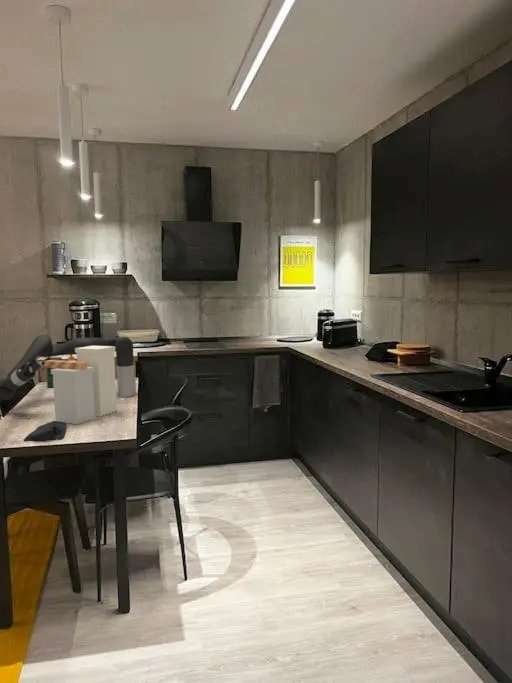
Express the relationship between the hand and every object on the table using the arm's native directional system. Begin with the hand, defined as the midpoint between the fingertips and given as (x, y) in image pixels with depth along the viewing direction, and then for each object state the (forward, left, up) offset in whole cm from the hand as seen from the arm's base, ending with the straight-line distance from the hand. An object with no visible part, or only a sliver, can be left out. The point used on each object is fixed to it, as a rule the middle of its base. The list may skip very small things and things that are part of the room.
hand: (43, 359), depth 237 cm
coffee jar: (-23, -77, -27) cm, 85 cm away
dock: (-9, +16, -27) cm, 33 cm away
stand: (-22, +8, -27) cm, 36 cm away
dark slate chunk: (+6, +32, -28) cm, 43 cm away
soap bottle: (-29, -60, -27) cm, 72 cm away
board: (-7, +12, -3) cm, 14 cm away
